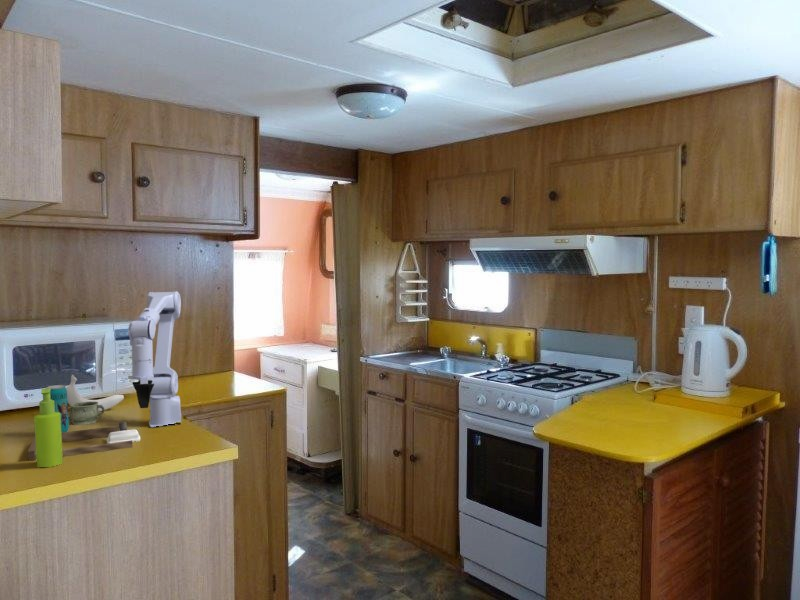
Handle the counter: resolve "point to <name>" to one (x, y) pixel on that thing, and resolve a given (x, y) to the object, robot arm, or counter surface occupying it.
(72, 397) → the banana
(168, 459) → the counter surface
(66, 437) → the hook rack
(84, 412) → the vessel
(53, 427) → the soap dispenser
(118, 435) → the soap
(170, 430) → the counter surface
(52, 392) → the beverage can
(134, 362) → the robot arm
